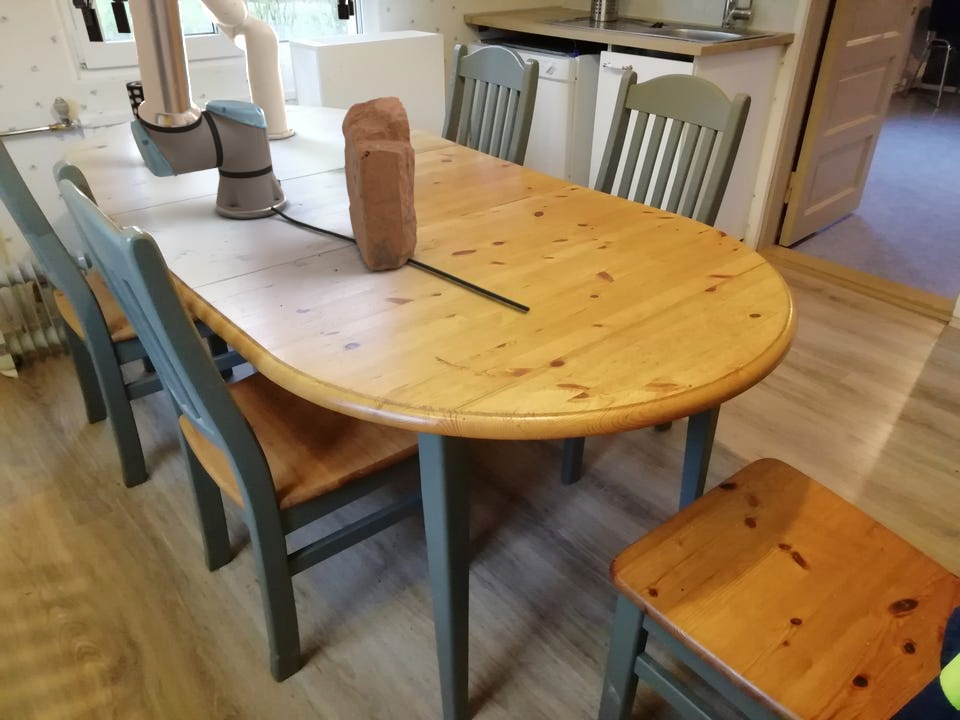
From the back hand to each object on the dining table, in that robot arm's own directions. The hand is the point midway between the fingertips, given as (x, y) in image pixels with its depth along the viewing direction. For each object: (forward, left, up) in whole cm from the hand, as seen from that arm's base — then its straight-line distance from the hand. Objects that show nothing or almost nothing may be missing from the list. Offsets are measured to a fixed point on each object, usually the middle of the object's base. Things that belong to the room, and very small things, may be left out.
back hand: (346, 17), depth 208 cm
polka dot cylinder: (+3, -64, -21) cm, 67 cm away
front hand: (+13, -72, +2) cm, 73 cm away
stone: (+90, -52, -31) cm, 108 cm away
